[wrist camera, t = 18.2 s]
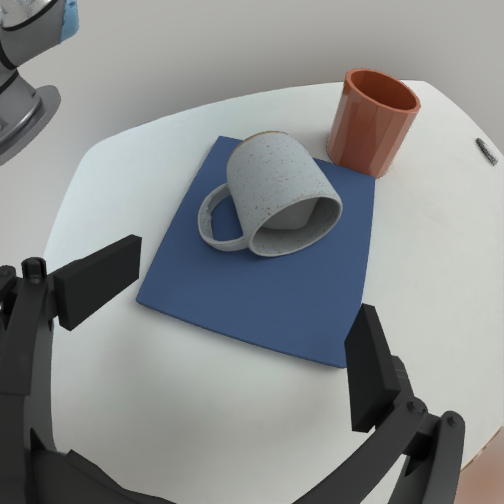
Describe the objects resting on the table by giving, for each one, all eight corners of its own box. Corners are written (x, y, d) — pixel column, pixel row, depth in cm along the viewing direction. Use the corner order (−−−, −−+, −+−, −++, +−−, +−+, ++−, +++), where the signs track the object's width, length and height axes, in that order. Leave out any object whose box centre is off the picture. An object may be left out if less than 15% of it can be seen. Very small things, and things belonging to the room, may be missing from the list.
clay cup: (322, 166, 30) (343, 93, 21) (330, 125, 33) (347, 61, 24) (388, 188, 29) (425, 124, 20) (387, 144, 32) (415, 85, 23)
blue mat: (138, 303, 23) (134, 300, 22) (219, 141, 31) (219, 135, 30) (343, 368, 21) (347, 368, 20) (372, 182, 29) (375, 177, 28)
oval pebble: (473, 140, 36) (475, 135, 35) (479, 141, 36) (482, 136, 35) (492, 164, 33) (494, 160, 32) (498, 165, 33) (501, 160, 32)
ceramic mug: (293, 173, 28) (304, 113, 21) (330, 240, 25) (357, 188, 18) (191, 202, 27) (174, 143, 20) (215, 279, 23) (199, 234, 16)
